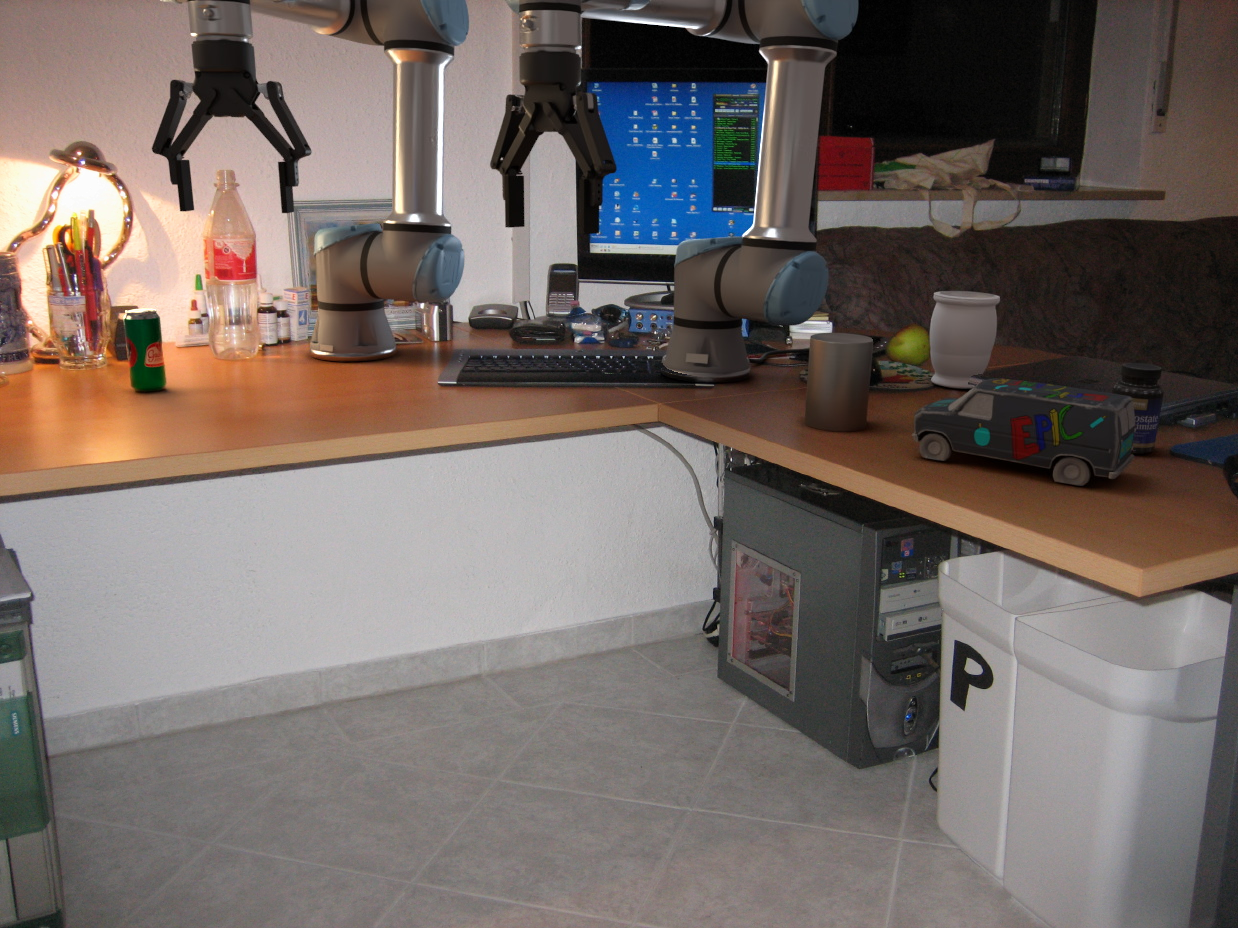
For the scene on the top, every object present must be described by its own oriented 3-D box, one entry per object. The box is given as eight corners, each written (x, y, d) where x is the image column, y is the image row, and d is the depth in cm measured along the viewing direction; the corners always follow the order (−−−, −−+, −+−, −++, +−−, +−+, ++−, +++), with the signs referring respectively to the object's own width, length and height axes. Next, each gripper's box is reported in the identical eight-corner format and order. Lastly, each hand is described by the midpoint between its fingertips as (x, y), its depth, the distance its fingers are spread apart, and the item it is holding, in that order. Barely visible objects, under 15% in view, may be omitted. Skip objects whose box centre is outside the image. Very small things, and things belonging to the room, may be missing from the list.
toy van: (935, 438, 144) (942, 365, 141) (1133, 472, 130) (1146, 392, 127) (905, 455, 135) (913, 378, 133) (1114, 493, 122) (1127, 408, 119)
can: (841, 434, 146) (849, 345, 142) (791, 422, 152) (797, 336, 148) (878, 425, 151) (885, 339, 148) (828, 413, 157) (834, 330, 154)
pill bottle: (1117, 454, 138) (1130, 370, 135) (1094, 442, 144) (1106, 361, 140) (1163, 454, 138) (1177, 370, 135) (1139, 442, 144) (1152, 361, 141)
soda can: (154, 393, 161) (145, 313, 158) (124, 391, 162) (115, 312, 158) (173, 386, 166) (166, 309, 162) (144, 384, 167) (136, 307, 163)
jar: (911, 380, 181) (920, 291, 177) (960, 376, 185) (969, 289, 181) (953, 393, 172) (963, 299, 168) (1003, 388, 176) (1014, 297, 172)
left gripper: (111, 37, 133) (131, 212, 139) (310, 39, 132) (321, 215, 138) (139, 42, 140) (158, 208, 146) (328, 44, 139) (338, 211, 145)
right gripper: (460, 54, 135) (464, 225, 141) (603, 44, 119) (601, 238, 125) (505, 58, 140) (507, 223, 147) (647, 49, 124) (644, 235, 130)
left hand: (237, 212), depth 142 cm, fingers open, 13 cm apart
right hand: (550, 230), depth 136 cm, fingers open, 13 cm apart
